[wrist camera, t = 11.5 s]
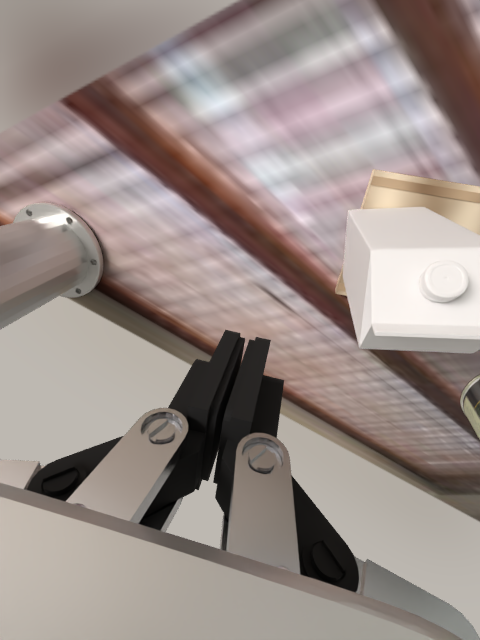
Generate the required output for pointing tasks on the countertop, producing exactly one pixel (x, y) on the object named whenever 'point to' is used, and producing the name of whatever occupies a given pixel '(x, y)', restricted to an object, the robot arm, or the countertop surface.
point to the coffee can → (472, 403)
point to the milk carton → (412, 280)
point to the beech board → (422, 200)
